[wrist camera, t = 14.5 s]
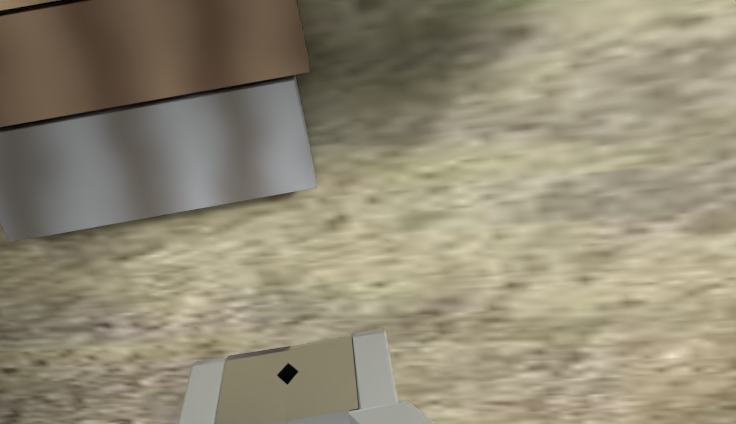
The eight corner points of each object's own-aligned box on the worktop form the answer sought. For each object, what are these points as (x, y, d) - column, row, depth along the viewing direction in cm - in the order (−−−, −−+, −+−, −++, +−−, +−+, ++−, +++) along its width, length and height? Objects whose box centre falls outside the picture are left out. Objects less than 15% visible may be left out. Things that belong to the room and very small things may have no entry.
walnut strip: (288, -39, 36) (287, -35, 34) (309, 63, 39) (309, 72, 37) (-89, 28, 36) (-109, 35, 34) (-40, 125, 38) (-57, 137, 37)
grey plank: (295, 73, 39) (294, 80, 37) (316, 176, 42) (316, 187, 40) (-22, 129, 39) (-39, 139, 37) (22, 228, 42) (9, 242, 40)
